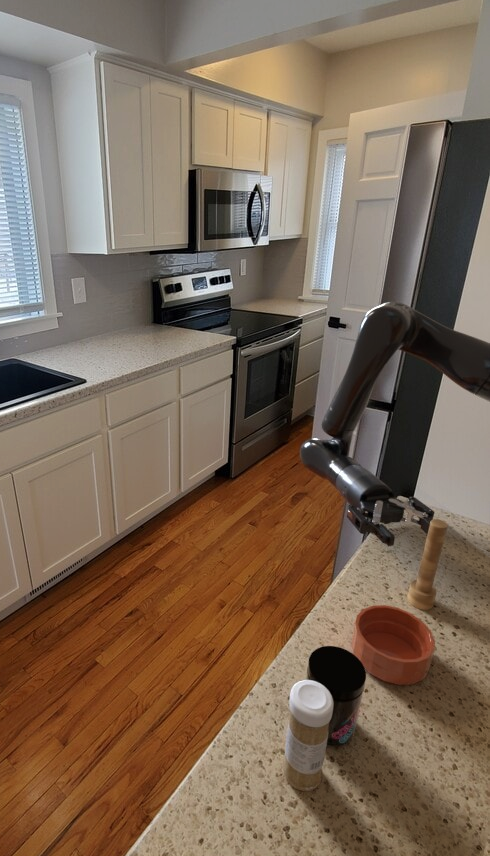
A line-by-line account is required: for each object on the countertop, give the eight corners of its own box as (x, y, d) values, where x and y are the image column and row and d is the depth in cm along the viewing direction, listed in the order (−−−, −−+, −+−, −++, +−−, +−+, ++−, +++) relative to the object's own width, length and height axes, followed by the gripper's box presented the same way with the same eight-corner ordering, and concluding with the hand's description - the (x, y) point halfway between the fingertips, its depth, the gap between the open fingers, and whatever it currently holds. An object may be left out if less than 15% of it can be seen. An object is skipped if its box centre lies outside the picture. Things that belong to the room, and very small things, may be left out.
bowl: (398, 623, 79) (403, 600, 77) (444, 680, 69) (452, 655, 67) (338, 634, 77) (341, 610, 75) (376, 694, 67) (382, 668, 65)
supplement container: (321, 758, 60) (331, 700, 55) (291, 710, 66) (297, 654, 61) (366, 739, 62) (378, 681, 57) (332, 694, 68) (341, 639, 63)
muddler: (423, 591, 85) (441, 514, 78) (438, 607, 81) (459, 529, 75) (402, 594, 84) (419, 518, 78) (417, 611, 81) (436, 532, 74)
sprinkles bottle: (308, 749, 61) (319, 673, 55) (328, 787, 57) (342, 709, 51) (275, 759, 60) (283, 683, 54) (293, 798, 56) (303, 720, 50)
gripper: (332, 478, 95) (380, 525, 80) (398, 469, 97) (457, 514, 82) (327, 510, 98) (373, 562, 83) (391, 501, 100) (447, 550, 85)
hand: (415, 538), depth 83 cm, fingers open, 8 cm apart
